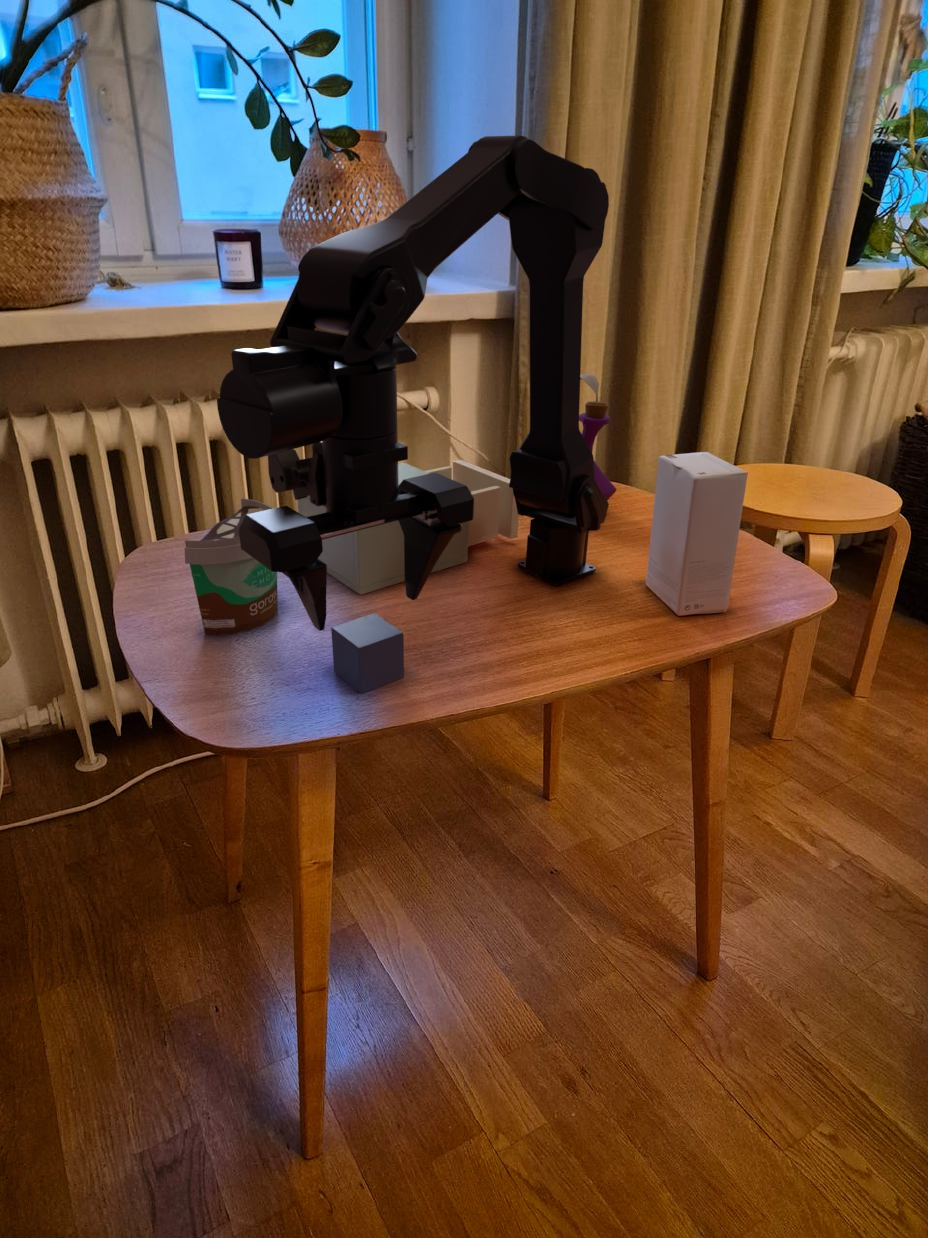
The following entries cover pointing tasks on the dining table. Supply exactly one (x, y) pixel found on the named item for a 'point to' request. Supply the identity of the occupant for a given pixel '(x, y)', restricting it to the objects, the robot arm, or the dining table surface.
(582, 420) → the perfume bottle
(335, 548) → the grey storage box
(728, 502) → the cosmetic box
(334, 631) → the block
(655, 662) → the dining table surface
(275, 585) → the food container
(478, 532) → the tray
